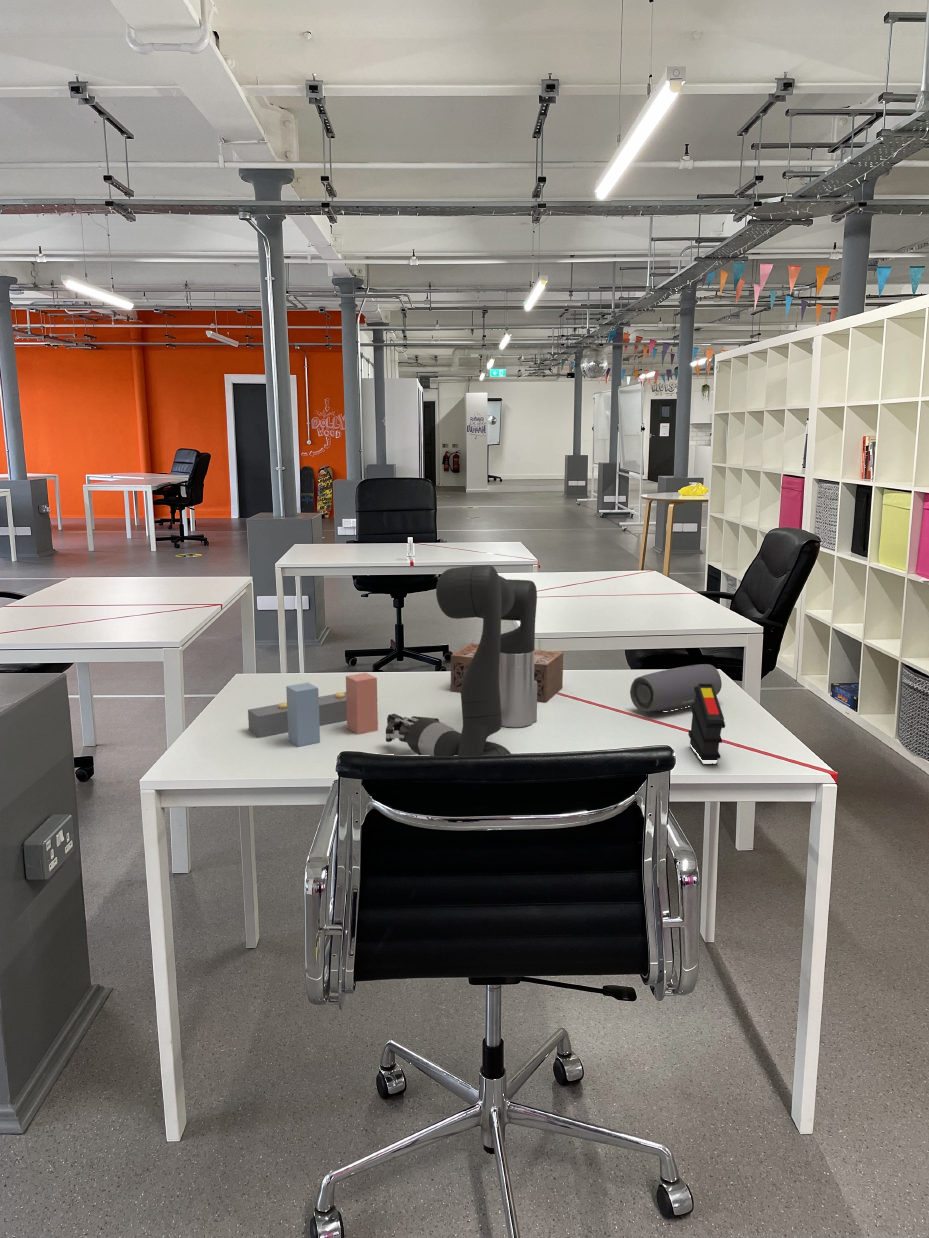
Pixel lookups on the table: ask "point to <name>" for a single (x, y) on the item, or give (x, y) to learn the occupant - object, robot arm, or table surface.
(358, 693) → the red key
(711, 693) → the black stepped tower
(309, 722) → the blue key
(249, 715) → the console
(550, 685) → the tissue box cover
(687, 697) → the bluetooth speaker
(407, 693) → the table surface
